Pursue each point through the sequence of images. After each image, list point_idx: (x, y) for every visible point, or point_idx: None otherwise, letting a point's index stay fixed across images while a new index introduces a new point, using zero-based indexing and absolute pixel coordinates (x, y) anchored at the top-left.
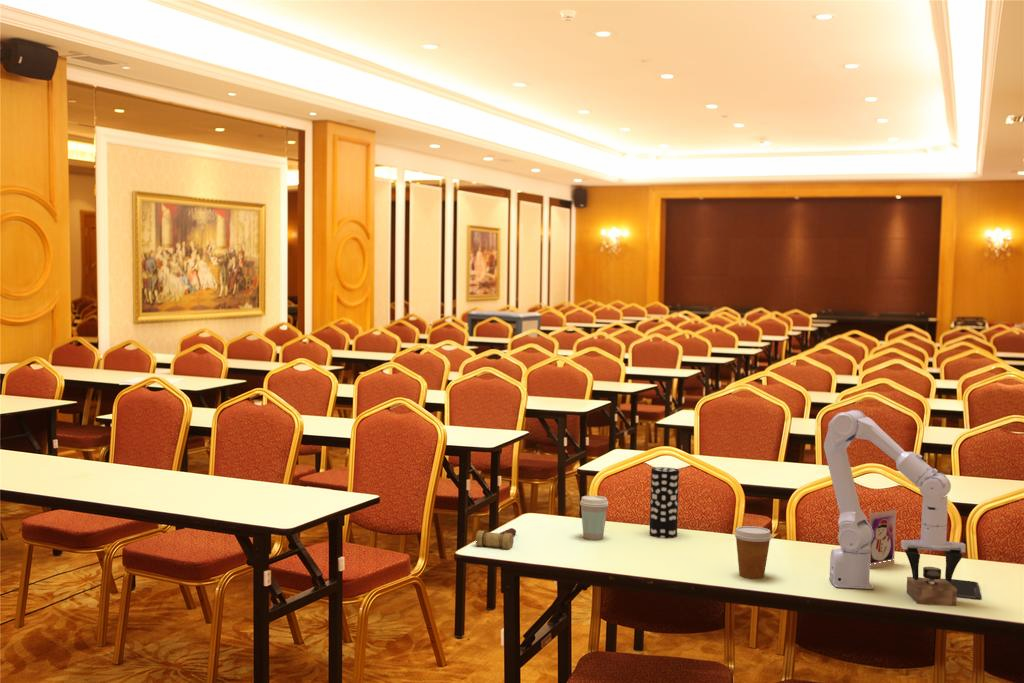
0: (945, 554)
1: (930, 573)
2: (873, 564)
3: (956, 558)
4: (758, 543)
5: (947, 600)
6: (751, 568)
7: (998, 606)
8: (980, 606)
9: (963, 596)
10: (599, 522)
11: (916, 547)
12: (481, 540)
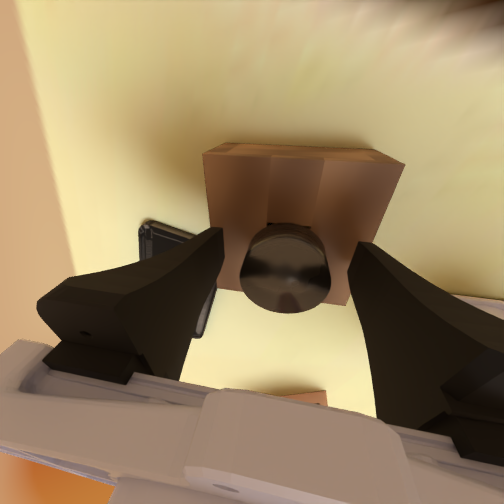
0: (182, 365)
1: (310, 243)
2: (311, 399)
3: (109, 279)
4: None
5: (254, 147)
6: None
7: (94, 156)
8: (146, 147)
9: (184, 234)
10: None
11: (463, 467)
12: None
